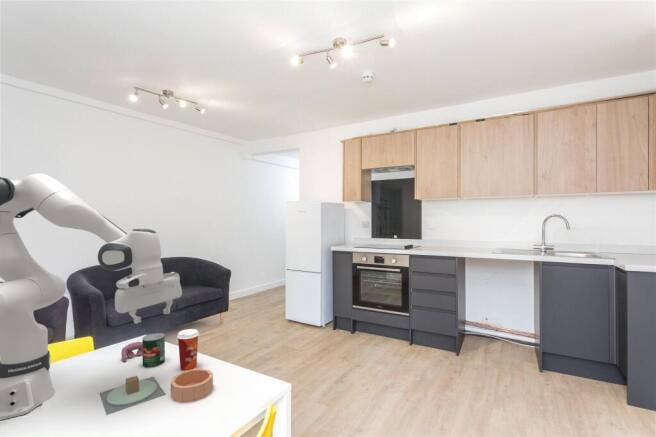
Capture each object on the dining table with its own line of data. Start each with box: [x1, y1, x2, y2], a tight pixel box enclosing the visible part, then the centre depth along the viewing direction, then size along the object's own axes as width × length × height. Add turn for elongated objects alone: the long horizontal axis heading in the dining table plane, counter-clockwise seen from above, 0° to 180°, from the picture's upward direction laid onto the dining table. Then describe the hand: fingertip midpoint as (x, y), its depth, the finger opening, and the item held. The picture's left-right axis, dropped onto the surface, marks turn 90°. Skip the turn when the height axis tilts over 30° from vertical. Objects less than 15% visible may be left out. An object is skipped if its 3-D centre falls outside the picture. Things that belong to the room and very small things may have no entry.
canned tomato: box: [141, 332, 166, 369], centre depth 127 cm, size 8×8×11 cm
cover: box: [106, 375, 157, 406], centre depth 105 cm, size 14×14×5 cm
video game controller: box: [120, 341, 143, 363], centre depth 134 cm, size 10×5×7 cm, turn 130°
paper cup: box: [176, 328, 200, 372], centre depth 123 cm, size 8×8×14 cm
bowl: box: [170, 368, 214, 404], centre depth 106 cm, size 12×12×5 cm
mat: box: [99, 376, 167, 416], centre depth 105 cm, size 16×16×1 cm
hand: (152, 318), depth 107 cm, fingers open, 8 cm apart
